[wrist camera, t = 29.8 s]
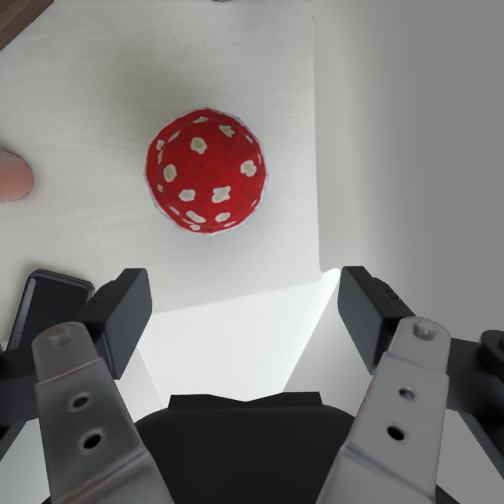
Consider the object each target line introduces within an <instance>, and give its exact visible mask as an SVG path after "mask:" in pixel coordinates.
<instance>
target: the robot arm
mask: <svg viewBox="0 0 504 504" xmlns="http://www.w3.org/2000/svg"><path fill="white" fill-rule="evenodd" d="M215 1H230V0H215ZM338 310H339V314H340V316H341V318H342V320H343V322H344V324H345V326H346V328H347V330H348V332H349V334H350V335H351V338H352V340H353V342H354V343H355V346H356V348H357V350H358V352H359V353H360V355H361V357H362V359H363V361H364V363H365V365H366V367H367V369H368V371H369V373H370V375H374V376H373V378H372V381H371V383H370V385H369V388H368V390H367V392H366V395H365V397H364V399H363V402H362V404H361V406H360V408H359V411H358V413H357V416H356V418H355V417H353V416H352V415H350V414H348V413H346V412H344V411H342V410H340V409H337V408H335V407H331V406H328V405H324V404H322V400H321V397H320V393H319V392H283V393H279V394H275V395H271V396H267V397H263V398H259V399H256V400H252V401H246V402H244V401H238V400H234V399H229V398H224V397H219V396H214V395H210V394H192V395H171V398H170V401H169V405H168V408H165V409H162V410H159V411H156V412H154V413H152V414H149V415H147V416H145V417H143V418H142V419H140V420H138V421H137V422H135V423H134V422H133V420H132V418H131V416H130V414H129V412H128V410H127V407H126V405H125V403H124V401H123V399H122V397H121V395H120V393H119V390H118V388H117V386H116V384H115V382H114V380H118V379H119V380H120V378H121V376H122V374H123V372H124V370H125V368H126V366H127V364H128V362H129V360H130V358H131V356H132V354H133V351H134V350H135V347H136V345H137V343H138V341H139V339H140V337H141V335H142V333H143V331H144V329H145V327H146V325H147V323H148V321H149V318H150V316H151V313H152V298H151V292H150V286H149V280H148V274H147V271H146V269H145V268H126V269H124V270H123V272H122V273H121V274H120V275H119V276H118V278H117V279H116V280H113V281H110V282H108V283H107V284H105V285H103V286H102V287H100V288H99V289H98V291H97V292H96V293H95V294H94V296H93V297H91V299H90V300H89V301H88V303H86V304H85V305H84V307H83V308H82V309H81V310H80V311H79V312H78V313H77V315H76V316H75V317H74V318H73V319H72V320H71V321H70V322H66V323H61V324H58V325H55V326H52V327H50V328H48V329H46V330H44V331H43V332H41V333H40V334H39V335H37V336H36V338H35V339H34V340H33V342H32V345H29V346H25V347H20V348H15V349H11V350H6V351H3V349H2V347H1V344H0V461H1V460H2V458H3V457H4V455H5V454H6V452H7V451H8V449H9V448H10V446H11V444H12V443H13V441H14V440H15V439H16V437H17V436H18V434H19V433H20V431H21V430H22V428H23V427H24V425H25V423H26V422H27V421H29V420H33V419H36V418H39V423H40V430H41V436H42V443H43V450H44V457H45V463H46V470H47V477H48V483H49V490H50V496H49V497H48V498H47V499H46V500H45V501H44V502H43V503H42V504H460V503H459V502H457V501H456V500H455V499H454V498H453V497H451V496H450V495H449V494H448V493H447V492H445V491H444V490H443V489H442V488H441V487H439V486H438V485H437V484H436V479H437V471H438V463H439V456H440V448H441V440H442V432H443V425H444V417H445V409H451V410H455V411H458V413H459V414H460V416H461V417H462V419H463V420H464V422H465V423H466V425H467V426H468V428H469V429H470V431H471V432H472V434H473V435H474V437H475V438H476V439H477V441H478V442H479V444H480V445H481V447H482V448H483V450H484V451H485V453H486V454H487V456H488V457H489V458H490V460H491V461H492V463H493V465H494V466H495V468H496V469H497V470H498V472H499V473H500V475H501V476H502V478H503V479H504V331H499V330H488V331H485V332H483V333H482V335H481V337H480V340H479V342H478V343H477V342H471V341H466V340H461V339H455V338H451V335H450V333H449V332H448V331H447V329H446V328H444V327H443V326H442V325H440V324H438V323H437V322H435V321H432V320H430V319H427V318H423V317H417V316H416V315H415V314H414V313H413V312H412V311H411V310H410V309H409V308H408V307H407V305H406V304H405V303H404V302H403V301H402V300H401V299H399V297H398V295H397V294H396V293H394V291H393V290H392V289H391V288H390V287H389V285H388V284H386V283H385V282H383V281H381V280H380V279H378V278H373V277H372V276H371V275H370V274H369V272H367V270H366V269H365V268H364V267H363V266H344V267H343V269H342V272H341V278H340V286H339V293H338Z"/></svg>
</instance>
